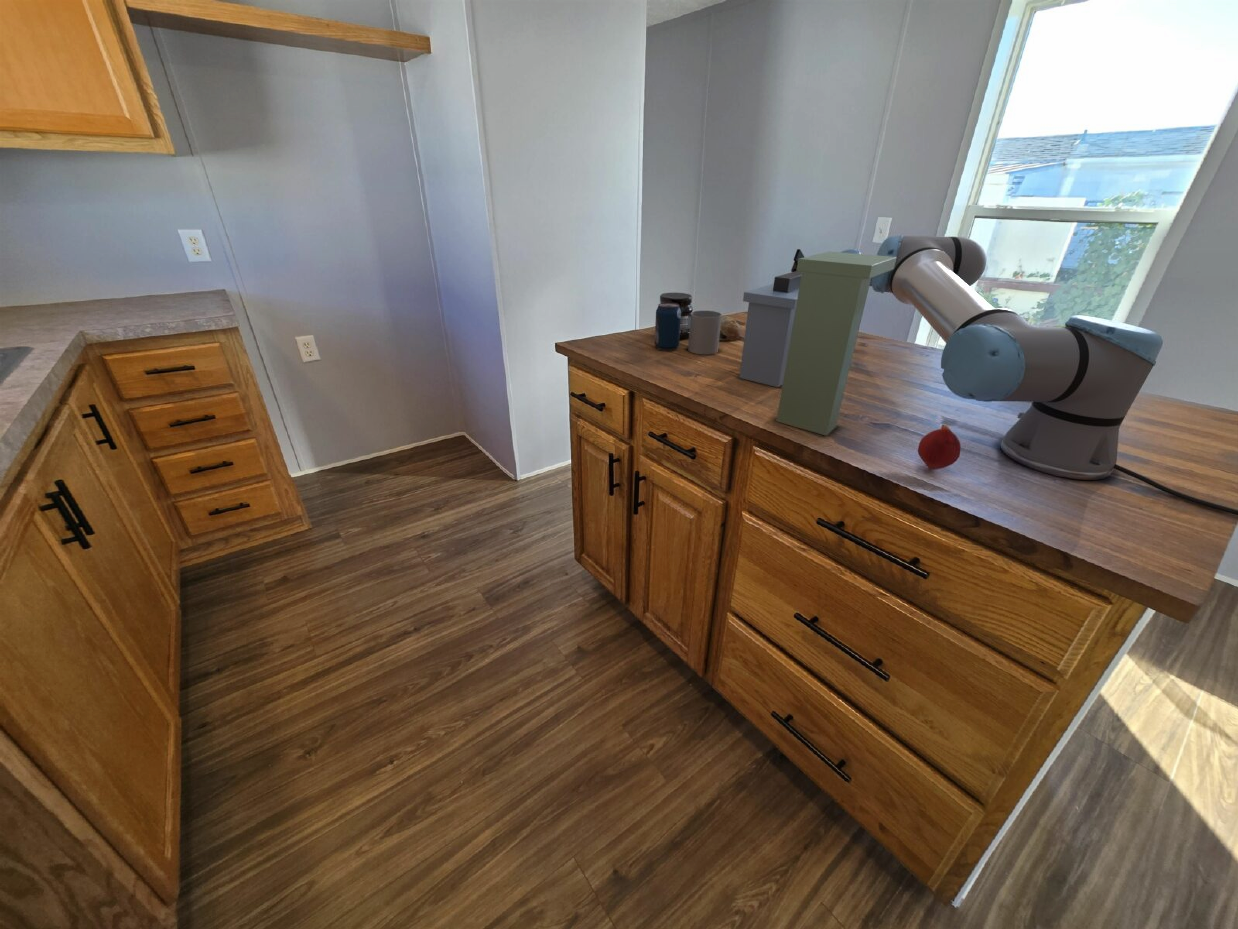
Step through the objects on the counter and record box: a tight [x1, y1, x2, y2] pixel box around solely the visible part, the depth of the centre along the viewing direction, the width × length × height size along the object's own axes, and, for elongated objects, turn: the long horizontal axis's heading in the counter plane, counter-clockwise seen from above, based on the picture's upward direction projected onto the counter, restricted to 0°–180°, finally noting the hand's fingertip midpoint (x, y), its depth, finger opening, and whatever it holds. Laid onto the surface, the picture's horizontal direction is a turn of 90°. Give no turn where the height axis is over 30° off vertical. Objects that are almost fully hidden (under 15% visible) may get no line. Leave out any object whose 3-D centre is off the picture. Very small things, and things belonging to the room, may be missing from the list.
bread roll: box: [719, 315, 741, 342], centre depth 153 cm, size 10×10×8 cm
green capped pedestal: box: [775, 251, 897, 437], centre depth 94 cm, size 12×14×30 cm
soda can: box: [654, 302, 681, 352], centre depth 141 cm, size 7×7×12 cm
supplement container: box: [659, 292, 694, 340], centre depth 152 cm, size 10×10×12 cm
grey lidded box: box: [738, 283, 799, 388], centre depth 120 cm, size 12×20×20 cm, turn 140°
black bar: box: [773, 271, 802, 293], centre depth 119 cm, size 4×22×3 cm, turn 140°
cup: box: [687, 310, 723, 355], centre depth 140 cm, size 8×8×10 cm
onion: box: [917, 423, 962, 471], centre depth 82 cm, size 6×6×8 cm
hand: (823, 256), depth 122 cm, fingers open, 13 cm apart
